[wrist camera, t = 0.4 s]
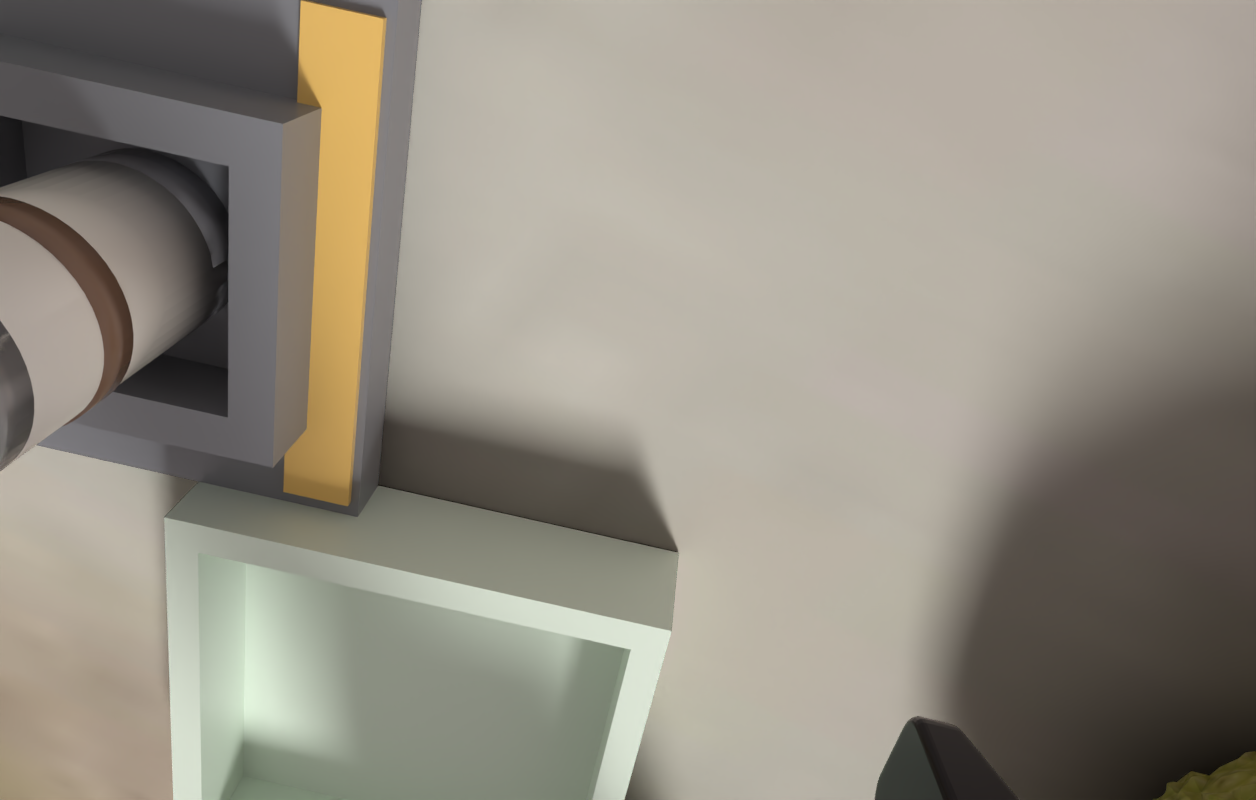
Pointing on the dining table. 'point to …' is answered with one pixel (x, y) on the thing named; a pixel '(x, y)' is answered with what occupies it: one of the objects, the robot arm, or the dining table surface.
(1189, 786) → the fruit
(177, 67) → the holder
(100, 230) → the cylinder
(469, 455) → the dining table surface
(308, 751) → the tray
